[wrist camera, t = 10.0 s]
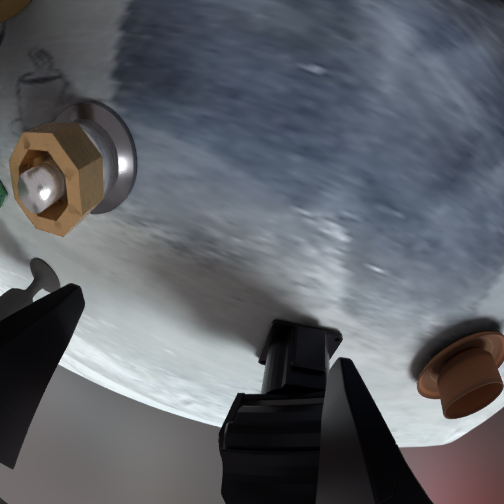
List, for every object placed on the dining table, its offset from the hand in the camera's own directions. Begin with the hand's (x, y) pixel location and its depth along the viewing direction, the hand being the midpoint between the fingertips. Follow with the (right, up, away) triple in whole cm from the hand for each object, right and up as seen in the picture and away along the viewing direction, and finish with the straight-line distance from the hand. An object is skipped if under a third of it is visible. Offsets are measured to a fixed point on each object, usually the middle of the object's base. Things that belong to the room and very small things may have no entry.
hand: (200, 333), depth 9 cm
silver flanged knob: (-11, +10, +10) cm, 18 cm away
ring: (-11, +8, +8) cm, 16 cm away
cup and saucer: (+25, -9, +17) cm, 32 cm away
